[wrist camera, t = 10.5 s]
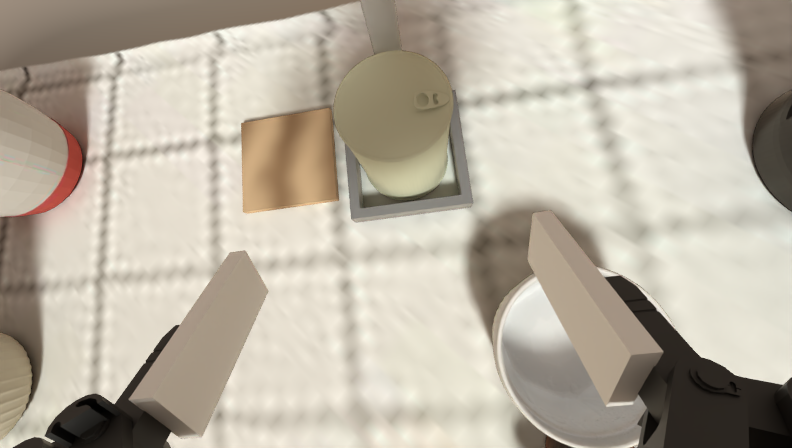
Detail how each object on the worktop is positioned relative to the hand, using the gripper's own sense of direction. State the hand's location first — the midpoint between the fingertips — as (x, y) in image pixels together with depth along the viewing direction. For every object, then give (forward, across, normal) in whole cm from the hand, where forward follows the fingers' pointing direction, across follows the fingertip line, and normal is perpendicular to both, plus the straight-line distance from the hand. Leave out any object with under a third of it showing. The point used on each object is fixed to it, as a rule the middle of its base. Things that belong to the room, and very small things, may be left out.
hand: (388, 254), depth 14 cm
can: (+21, +1, -5) cm, 22 cm away
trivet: (+23, -13, -3) cm, 26 cm away
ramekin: (+7, +13, -19) cm, 24 cm away
